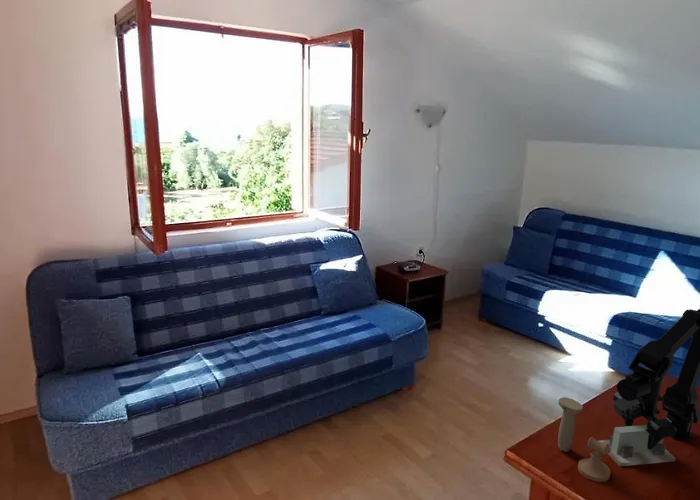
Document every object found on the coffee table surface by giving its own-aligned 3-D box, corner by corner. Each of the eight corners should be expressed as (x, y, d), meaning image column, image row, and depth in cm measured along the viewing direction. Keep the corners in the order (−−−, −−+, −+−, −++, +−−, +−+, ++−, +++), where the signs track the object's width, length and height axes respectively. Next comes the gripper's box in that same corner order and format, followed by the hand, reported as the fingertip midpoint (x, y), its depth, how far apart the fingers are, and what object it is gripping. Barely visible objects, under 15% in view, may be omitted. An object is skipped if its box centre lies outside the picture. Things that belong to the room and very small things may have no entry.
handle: (568, 457, 146) (575, 411, 142) (548, 445, 152) (555, 400, 148) (578, 452, 149) (586, 406, 145) (559, 440, 154) (566, 395, 150)
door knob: (589, 427, 144) (619, 440, 139) (583, 457, 147) (613, 471, 142) (578, 440, 138) (609, 454, 133) (573, 471, 141) (604, 486, 136)
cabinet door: (654, 444, 151) (659, 423, 149) (660, 450, 149) (665, 429, 147) (610, 448, 149) (614, 427, 147) (616, 454, 147) (620, 432, 145)
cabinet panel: (650, 439, 155) (652, 427, 154) (674, 461, 146) (677, 449, 145) (598, 443, 153) (600, 431, 152) (619, 466, 143) (622, 454, 142)
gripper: (600, 375, 152) (593, 421, 156) (644, 411, 134) (634, 462, 138) (635, 372, 153) (626, 418, 158) (683, 408, 136) (672, 459, 140)
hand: (638, 438), depth 148 cm, fingers open, 9 cm apart
